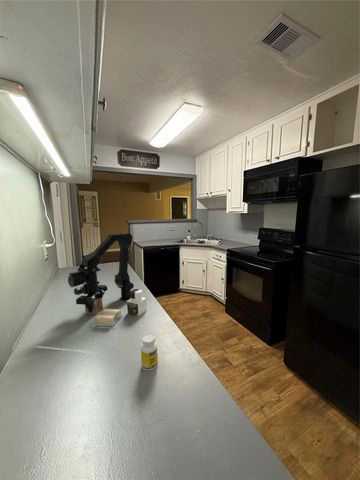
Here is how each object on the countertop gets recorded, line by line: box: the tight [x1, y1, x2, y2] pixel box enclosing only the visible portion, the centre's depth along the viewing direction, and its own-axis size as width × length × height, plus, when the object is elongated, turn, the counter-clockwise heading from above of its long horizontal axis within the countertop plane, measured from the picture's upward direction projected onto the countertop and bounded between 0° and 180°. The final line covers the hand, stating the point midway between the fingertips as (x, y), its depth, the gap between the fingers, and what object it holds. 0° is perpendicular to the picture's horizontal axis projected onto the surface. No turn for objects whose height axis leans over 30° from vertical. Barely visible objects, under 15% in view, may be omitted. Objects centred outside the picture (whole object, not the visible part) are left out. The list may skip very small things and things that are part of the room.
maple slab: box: [95, 308, 122, 327], centre depth 95 cm, size 8×8×4 cm
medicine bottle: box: [126, 288, 148, 317], centre depth 103 cm, size 7×7×12 cm
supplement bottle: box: [140, 334, 159, 371], centre depth 67 cm, size 5×5×10 cm
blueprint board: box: [90, 314, 127, 330], centre depth 95 cm, size 12×12×1 cm
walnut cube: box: [84, 297, 104, 316], centre depth 105 cm, size 6×6×6 cm
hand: (94, 309), depth 105 cm, fingers closed on walnut cube, 6 cm apart
